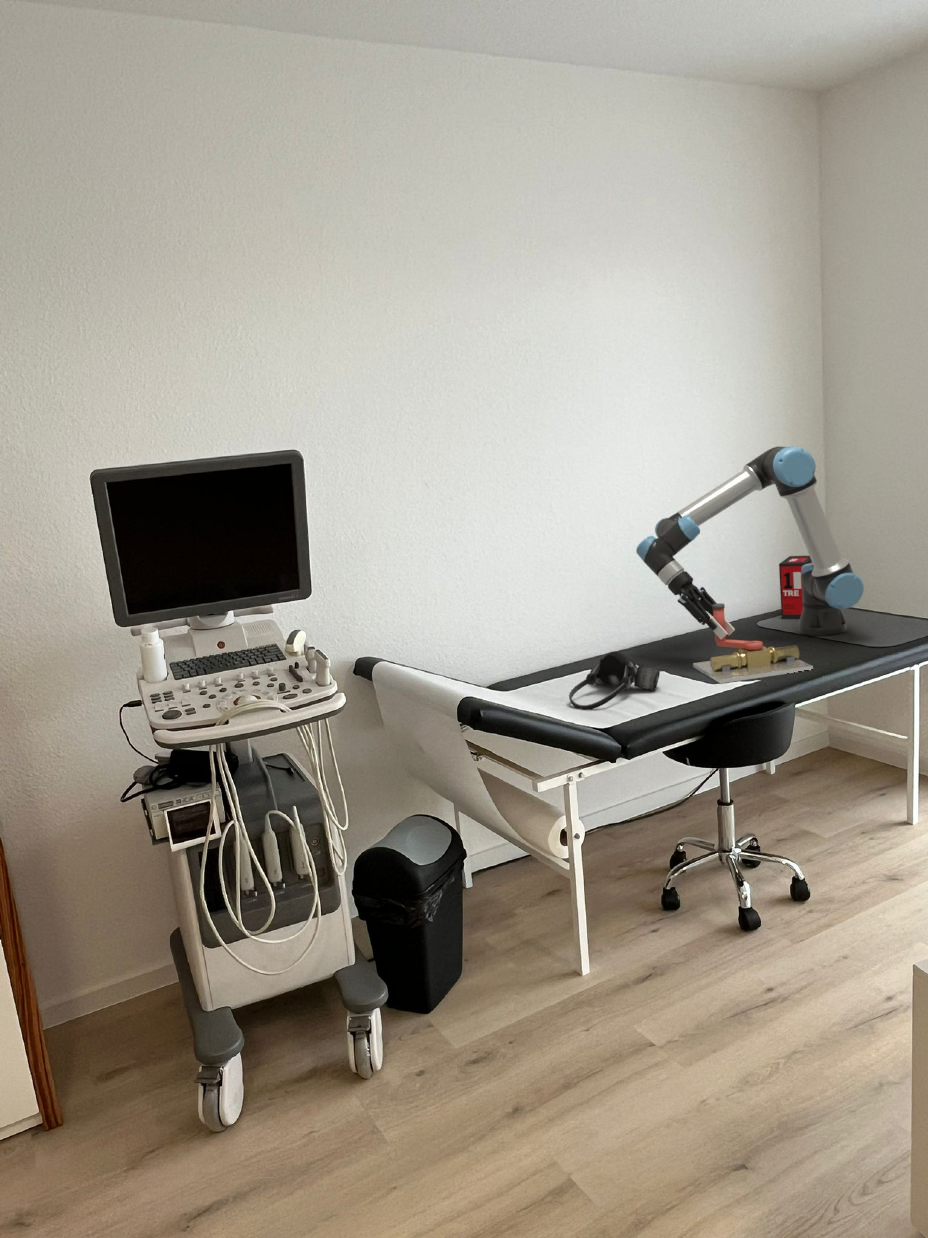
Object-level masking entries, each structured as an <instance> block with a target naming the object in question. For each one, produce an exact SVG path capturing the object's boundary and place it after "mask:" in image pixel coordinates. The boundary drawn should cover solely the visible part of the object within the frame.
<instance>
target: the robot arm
mask: <svg viewBox="0 0 928 1238" xmlns="http://www.w3.org/2000/svg"><path fill="white" fill-rule="evenodd" d="M815 461H816V460H815V459H814V457H813V456H812V454H811V453H810V452H809V451H808V450H806V449H804V448H802V447H798V446H795V445H794V446H774V447H772V448H770V449H767V450H766V451H764V452H763V453H761V454H760V455H758V456H756V457H755V458H754V459H752V460H751V461H749V462H748V463H746V464H745V465H743V469H742V470H741V471H740V472H738V473H736V474H734V475H733V476H731V477H730V478H728V479H727V480H726V481H724V482H722V483H720V484H719V485H717V486H715V488H713V489H712V490H709V492H707V493H705V494H703V495H702V496H701V497H699V498H698V499H696V500H694V501H693V502H690V503H689V504H688V505H686V506H685V507H683V508H681V509H680V510H678V511H677V512H676V513H674V514H672V515H670V516H669V517H664V518H662V519H660V520H659V521H658V522H657V523H656V524H655V527H654V532H655V535H656V537H657V538H656V537H655V536H653V535H649V536H647V537H646V538H644V539H643V540H641V541H640V543H639V544H638V545H637V546H636V549H635V551H636V554H637V556H638V557H639V558H640V559H641V560H642V562H643V563H644V564H645V565H646V566H647V567H648V568H649V569H650V571H652V572H653V573H654V574H655V575H656V577H658V578H659V580H660V581H661V582H662V583H663V584H664V585H665V586H667V589H668V590H669V591H670V592H672V594H673V595H674V596H679V598H678V599H677V602H678V603H679V605H681V606H683V608H684V609H685V610H686V611H688V613H689V614H690V615H691V616H692V617H693V618H694V619H695V620H696V621H697V622H698V623H699V624H701V625H702V626H705V625H707V627H709V629H711V630H712V632H713V633H714V635H715V634H716V635H717V636H718V637H719V638H720V639H723V638H724V637H725V636H726V637H727V635H728V636H730V635H731V634H732V633H733V632H735V631H736V629H735V627H734V626H733V625H732V624H731V623H730V622H729V621H728V620H727V619H726V618H725V630H724V629H723V628H722V627H721V626H720V624H719V623H718V622H717V621H716V620H715V619H714V616H713V609H712V605H713V604H718V603H717V601H715V600H714V598H713V597H712V596H711V595H710V594H709V593H708V592H707V590H706V589H705V587H704V586H701V587H700V588H698V587H697V586H696V585H694V583H693V582H694V578H693V577H692V575H691V574H690V573H689V572H688V571H686V570H685V568H684V567H683V565H681V564H680V563H679V562H678V561H677V560H676V558H674V556H676V555H677V554H678V553H680V552H681V551H682V550H683V549H684V548H685V547H687V546H688V545H689V544H690V543H692V542H693V541H694V540H695V539H696V538H697V537H698V536H699V535H700V533H701V529H700V526H702V525H703V524H705V523H706V522H707V521H709V520H710V519H712V518H714V517H715V516H717V515H718V514H720V513H722V512H723V511H725V510H726V509H728V508H730V507H731V506H732V505H734V504H736V503H737V502H739V501H741V500H743V499H744V498H746V497H747V496H749V495H750V494H751V493H754V492H755V491H757V492H758V491H759V492H761V491H762V490H764V489H765V488H767V487H771V486H773V485H775V487H776V490H777V492H778V495H779V497H780V498H783V499H785V500H787V503H788V505H789V506H788V507H789V508H790V511H791V513H792V516H793V518H794V521H795V523H796V526H797V528H798V530H799V531H798V532H799V533H800V535H801V539H802V540H803V543H804V546H805V548H806V550H807V552H808V556H810V558H811V560H812V563H810V564H805V565H803V566H802V569H801V579H802V599H803V611H802V614H801V617H800V619H799V621H798V625H797V626H798V627H797V628H798V630H797V631H798V633H800V634H802V635H806V636H834V635H838V634H842V633H845V632H847V628H848V627H847V626H848V625H847V621H846V618H845V615H844V613H843V611H842V610H847V609H850V608H852V607H854V606H855V605H857V604H858V603H859V602H860V600H861V598H862V596H863V595H864V587H865V586H864V583H863V580H862V579H861V578H860V577H859V576H858V575H857V574H855V573H854V571H853V569H852V565H851V564H850V562H849V560H848V559H846V558H844V557H842V556H841V553H840V550H839V547H838V545H837V543H836V540H835V537H834V534H833V532H832V531H831V528H830V525H829V523H828V520H827V517H826V515H825V512H824V510H823V508H822V504H821V501H820V499H819V497H818V495H817V492H816V490H815V487H816V485H817V483H818V480H817V478H816V476H815V475H816V474H815V472H816V462H815ZM710 615H711V616H710Z"/></svg>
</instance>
